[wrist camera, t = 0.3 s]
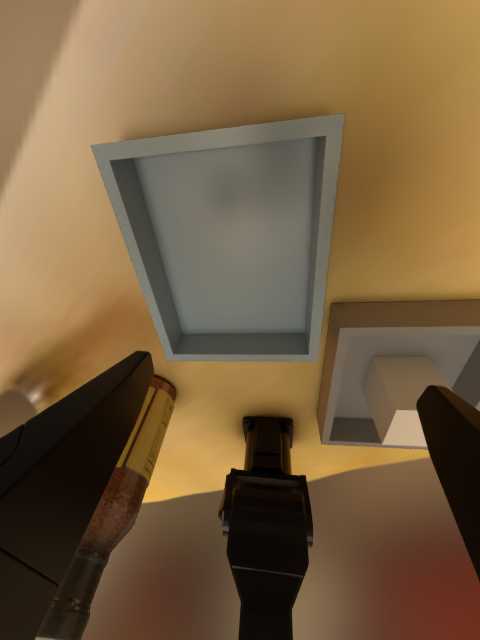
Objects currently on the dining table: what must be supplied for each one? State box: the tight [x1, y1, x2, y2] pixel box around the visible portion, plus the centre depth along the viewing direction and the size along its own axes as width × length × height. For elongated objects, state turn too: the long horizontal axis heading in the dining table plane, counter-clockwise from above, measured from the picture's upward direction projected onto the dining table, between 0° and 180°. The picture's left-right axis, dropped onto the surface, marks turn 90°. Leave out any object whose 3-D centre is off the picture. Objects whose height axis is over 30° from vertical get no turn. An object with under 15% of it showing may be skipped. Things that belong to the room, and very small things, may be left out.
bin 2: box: [317, 300, 480, 450], centre depth 25 cm, size 17×14×4 cm
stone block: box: [363, 357, 454, 447], centre depth 23 cm, size 5×5×6 cm
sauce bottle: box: [35, 376, 175, 640], centre depth 24 cm, size 6×6×20 cm
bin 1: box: [91, 113, 345, 362], centre depth 19 cm, size 17×14×4 cm
